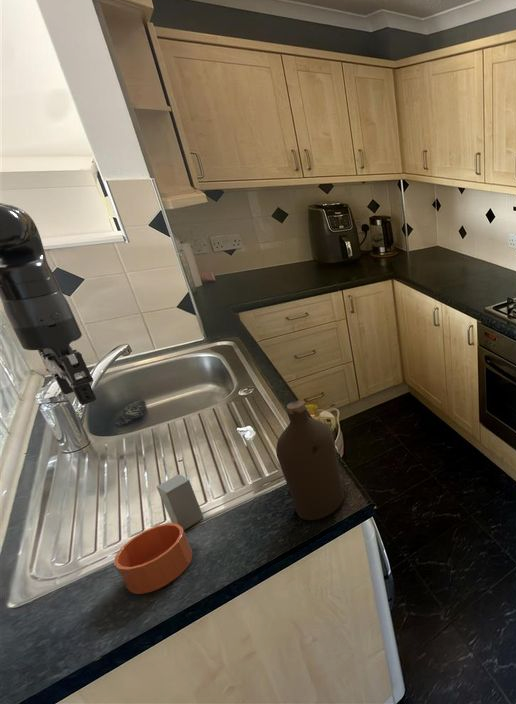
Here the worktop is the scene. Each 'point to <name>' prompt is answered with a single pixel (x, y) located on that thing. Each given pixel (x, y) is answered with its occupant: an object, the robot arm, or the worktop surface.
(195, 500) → the block
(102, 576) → the worktop surface
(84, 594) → the worktop surface
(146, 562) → the bowl
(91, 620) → the worktop surface
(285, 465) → the olive oil
